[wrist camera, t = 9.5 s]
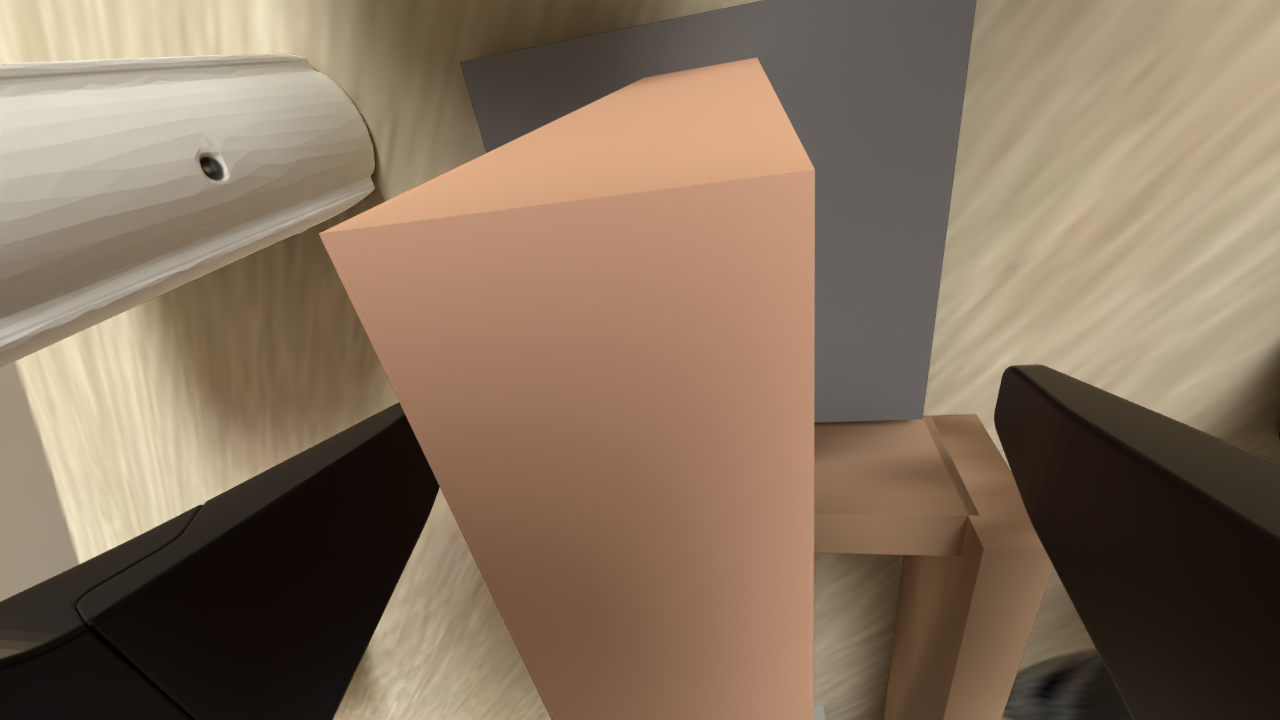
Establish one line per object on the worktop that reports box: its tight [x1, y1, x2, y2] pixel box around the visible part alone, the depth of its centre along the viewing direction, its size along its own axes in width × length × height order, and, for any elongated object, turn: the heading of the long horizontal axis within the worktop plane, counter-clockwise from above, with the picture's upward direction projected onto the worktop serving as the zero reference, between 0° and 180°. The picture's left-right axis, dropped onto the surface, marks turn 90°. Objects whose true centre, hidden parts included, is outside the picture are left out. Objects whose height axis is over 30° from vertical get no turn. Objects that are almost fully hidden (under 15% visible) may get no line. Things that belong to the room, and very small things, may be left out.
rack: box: [814, 415, 1054, 720], centre depth 21 cm, size 13×22×5 cm, turn 9°
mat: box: [460, 0, 976, 422], centre depth 14 cm, size 11×11×1 cm
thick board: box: [319, 58, 815, 720], centre depth 9 cm, size 2×9×11 cm, turn 9°
